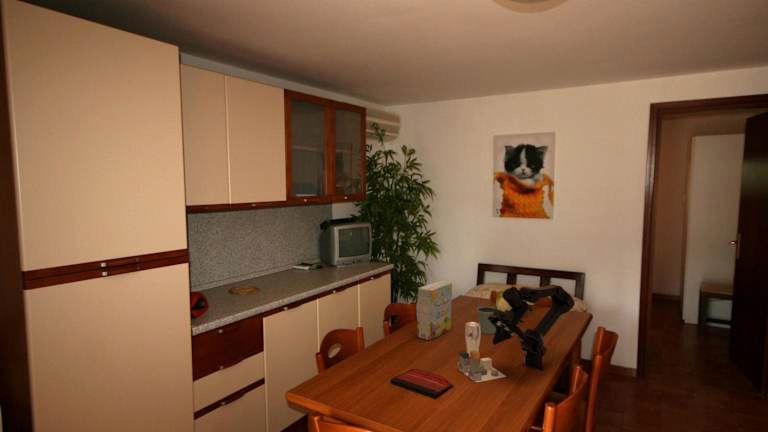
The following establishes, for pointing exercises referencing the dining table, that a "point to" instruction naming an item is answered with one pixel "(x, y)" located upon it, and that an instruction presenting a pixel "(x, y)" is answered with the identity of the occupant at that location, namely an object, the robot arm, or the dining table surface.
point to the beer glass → (472, 336)
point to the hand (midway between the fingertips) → (493, 344)
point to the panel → (481, 373)
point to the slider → (486, 363)
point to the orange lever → (474, 362)
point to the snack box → (434, 310)
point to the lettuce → (502, 302)
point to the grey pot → (486, 320)
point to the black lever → (463, 358)
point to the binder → (422, 382)
